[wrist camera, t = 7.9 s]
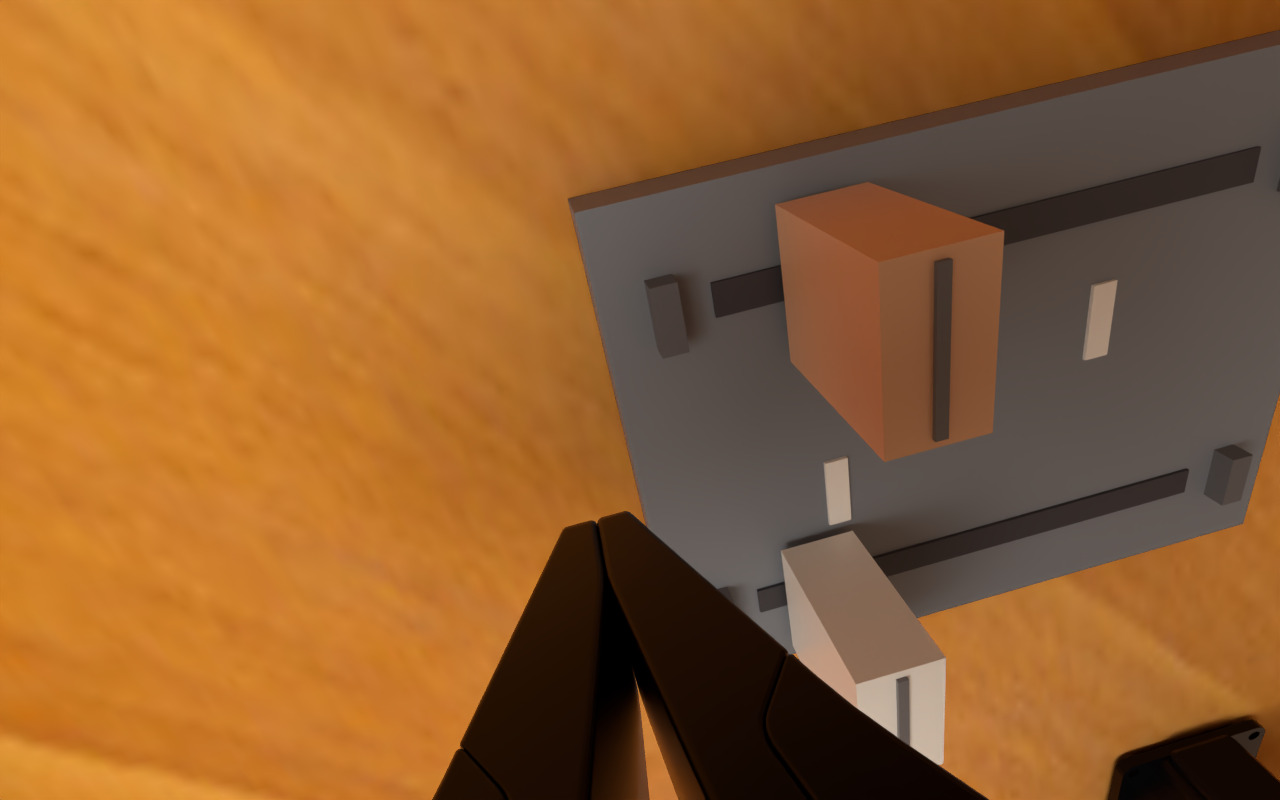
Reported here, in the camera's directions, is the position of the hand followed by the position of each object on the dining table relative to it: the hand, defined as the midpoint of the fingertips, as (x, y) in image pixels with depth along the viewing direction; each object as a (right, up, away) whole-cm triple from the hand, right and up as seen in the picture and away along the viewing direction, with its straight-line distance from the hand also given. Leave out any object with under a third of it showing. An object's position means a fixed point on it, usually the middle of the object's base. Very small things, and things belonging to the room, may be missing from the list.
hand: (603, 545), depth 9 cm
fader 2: (+5, -3, +10) cm, 12 cm away
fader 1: (+5, +5, +6) cm, 9 cm away
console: (+9, +2, +10) cm, 14 cm away
